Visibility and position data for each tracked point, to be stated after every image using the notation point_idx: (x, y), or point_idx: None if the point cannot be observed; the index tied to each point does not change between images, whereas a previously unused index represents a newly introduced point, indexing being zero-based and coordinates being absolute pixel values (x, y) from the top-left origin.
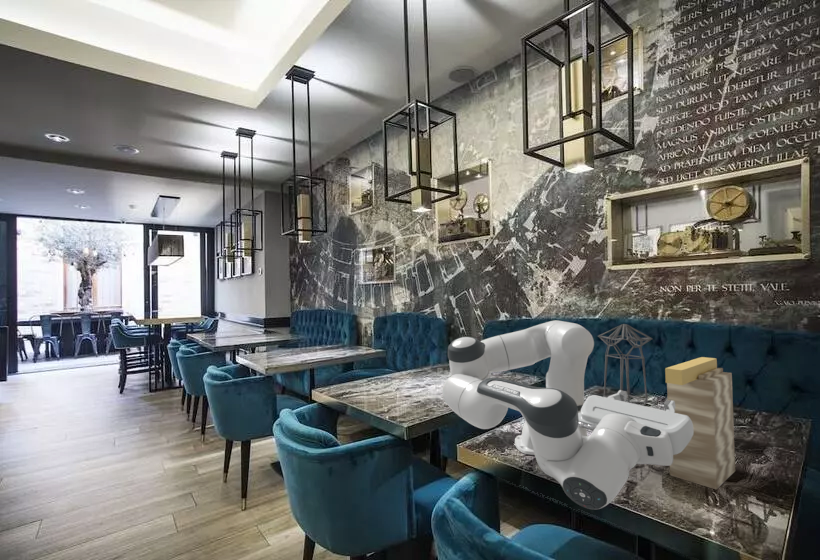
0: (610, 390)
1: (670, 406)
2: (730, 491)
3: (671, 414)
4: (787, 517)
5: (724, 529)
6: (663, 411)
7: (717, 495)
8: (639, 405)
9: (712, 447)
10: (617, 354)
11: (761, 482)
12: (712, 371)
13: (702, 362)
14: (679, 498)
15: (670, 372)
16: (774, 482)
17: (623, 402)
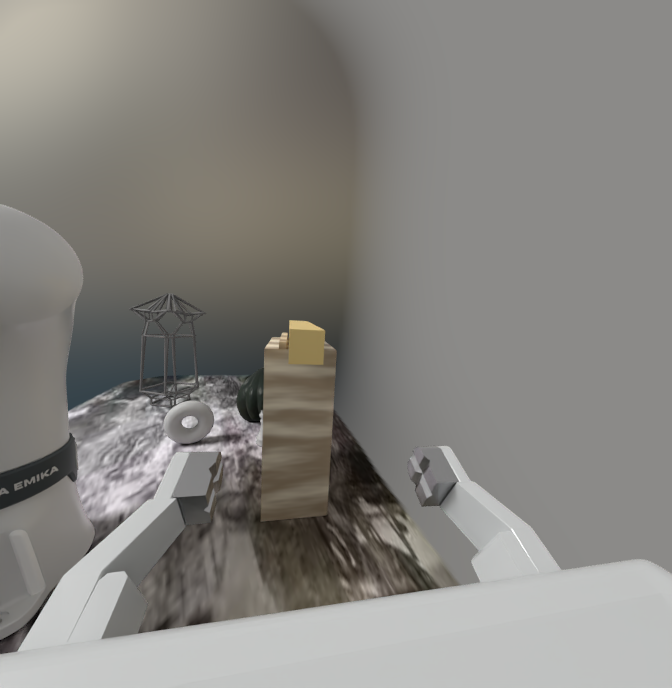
0: (151, 378)
1: (481, 495)
2: (340, 506)
3: (634, 618)
4: (414, 522)
5: None
6: (570, 606)
7: (337, 531)
8: (387, 617)
9: (327, 455)
10: (160, 334)
11: (345, 463)
12: None
13: (309, 323)
14: (305, 604)
15: (300, 338)
16: (351, 456)
17: (236, 666)
